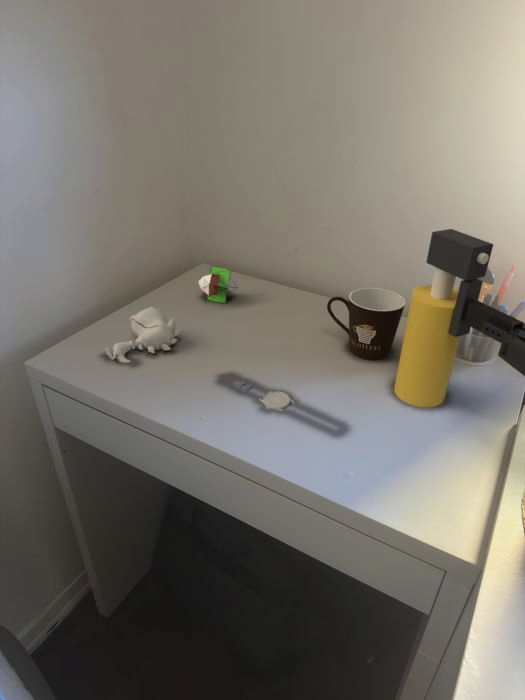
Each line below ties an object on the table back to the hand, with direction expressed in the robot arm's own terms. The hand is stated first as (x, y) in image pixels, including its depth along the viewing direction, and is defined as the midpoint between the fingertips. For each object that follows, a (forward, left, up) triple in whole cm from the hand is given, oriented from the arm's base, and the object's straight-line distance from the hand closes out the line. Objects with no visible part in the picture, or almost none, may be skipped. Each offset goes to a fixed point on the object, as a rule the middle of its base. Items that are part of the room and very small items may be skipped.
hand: (470, 311), depth 60 cm
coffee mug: (-1, -19, -16) cm, 25 cm away
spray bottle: (0, -5, -16) cm, 17 cm away
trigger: (0, -1, -3) cm, 3 cm away
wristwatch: (+19, -12, -16) cm, 28 cm away
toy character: (+32, -34, -16) cm, 50 cm away
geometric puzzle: (+13, -48, -16) cm, 52 cm away
